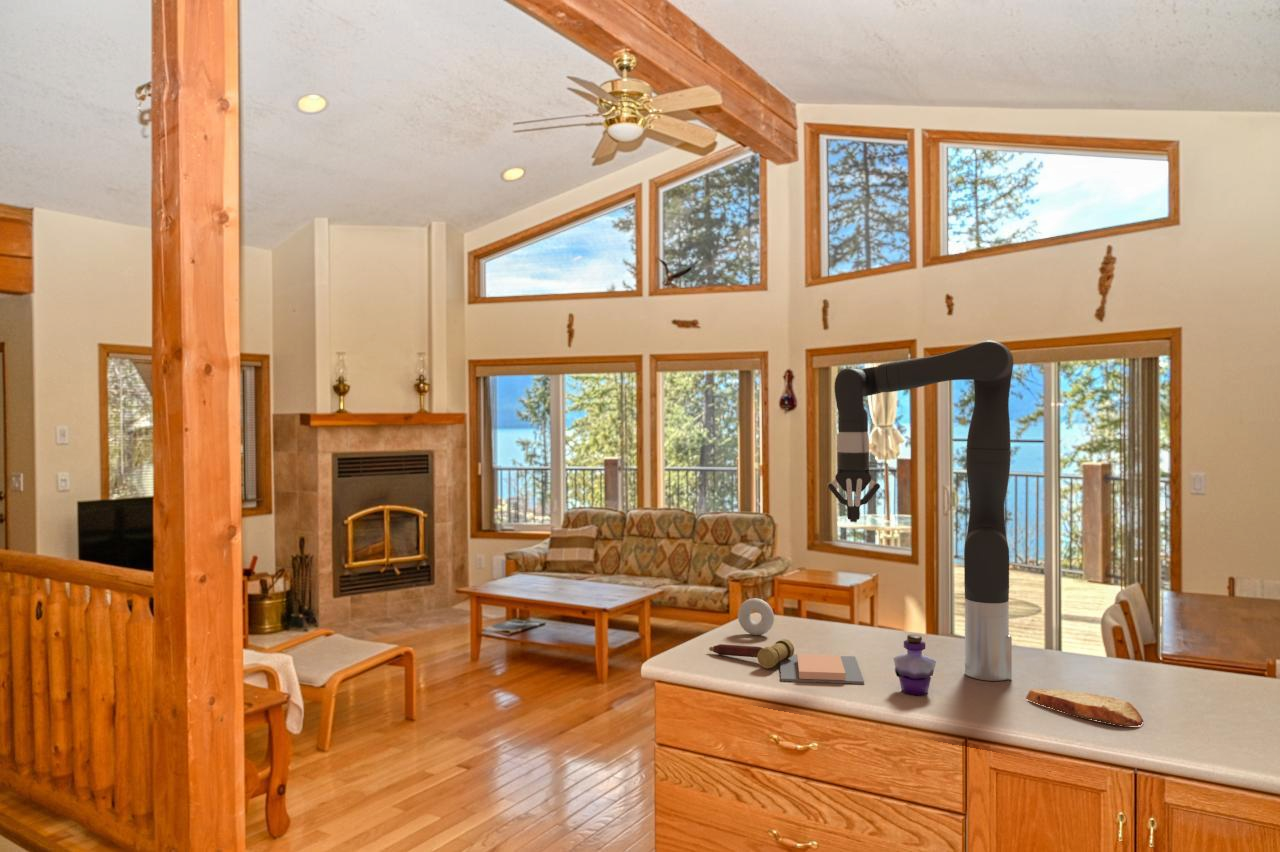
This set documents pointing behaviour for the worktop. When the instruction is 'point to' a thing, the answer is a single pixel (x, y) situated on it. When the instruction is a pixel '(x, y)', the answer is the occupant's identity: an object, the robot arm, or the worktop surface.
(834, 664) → the tile
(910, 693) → the potion bottle
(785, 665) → the mat
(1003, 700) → the worktop surface
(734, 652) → the gavel
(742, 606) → the donut
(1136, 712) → the slice of bread
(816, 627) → the worktop surface
